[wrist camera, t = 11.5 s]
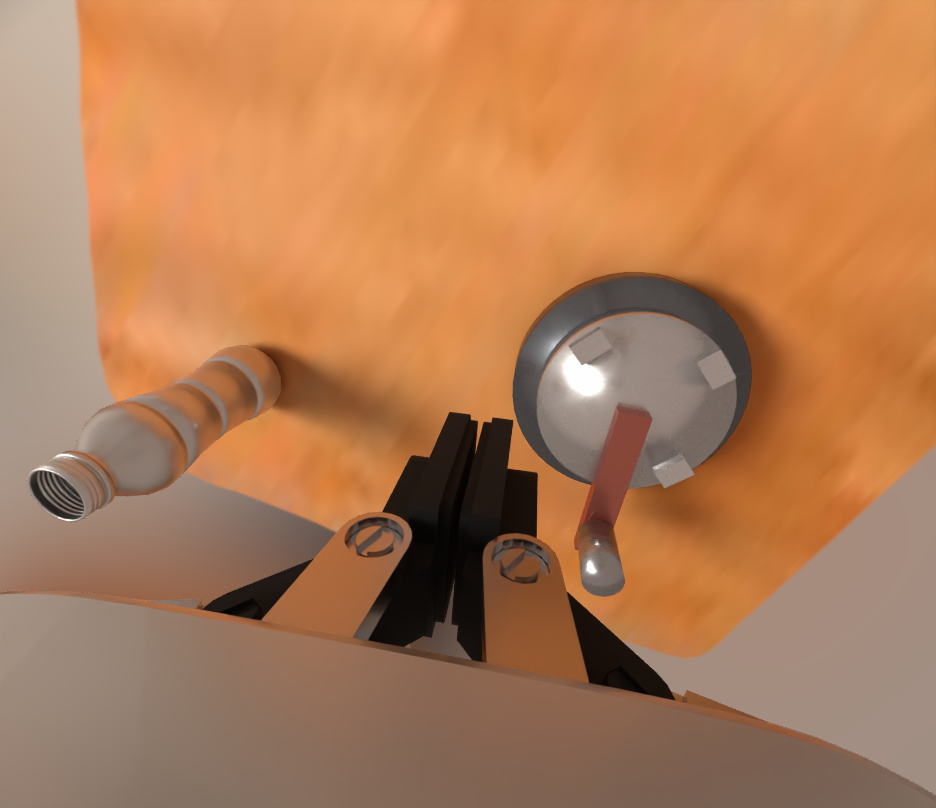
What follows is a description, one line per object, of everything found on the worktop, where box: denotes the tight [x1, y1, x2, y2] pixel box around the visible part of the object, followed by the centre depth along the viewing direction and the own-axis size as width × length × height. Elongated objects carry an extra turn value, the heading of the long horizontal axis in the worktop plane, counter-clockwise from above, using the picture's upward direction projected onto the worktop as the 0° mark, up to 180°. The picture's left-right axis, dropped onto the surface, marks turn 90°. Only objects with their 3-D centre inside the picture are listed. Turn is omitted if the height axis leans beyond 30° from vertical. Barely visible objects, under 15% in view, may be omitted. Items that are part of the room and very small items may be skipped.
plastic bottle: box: [27, 345, 281, 522], centre depth 34 cm, size 6×7×20 cm
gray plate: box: [513, 272, 751, 489], centre depth 37 cm, size 18×18×3 cm
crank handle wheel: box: [537, 307, 737, 596], centre depth 32 cm, size 14×20×9 cm
